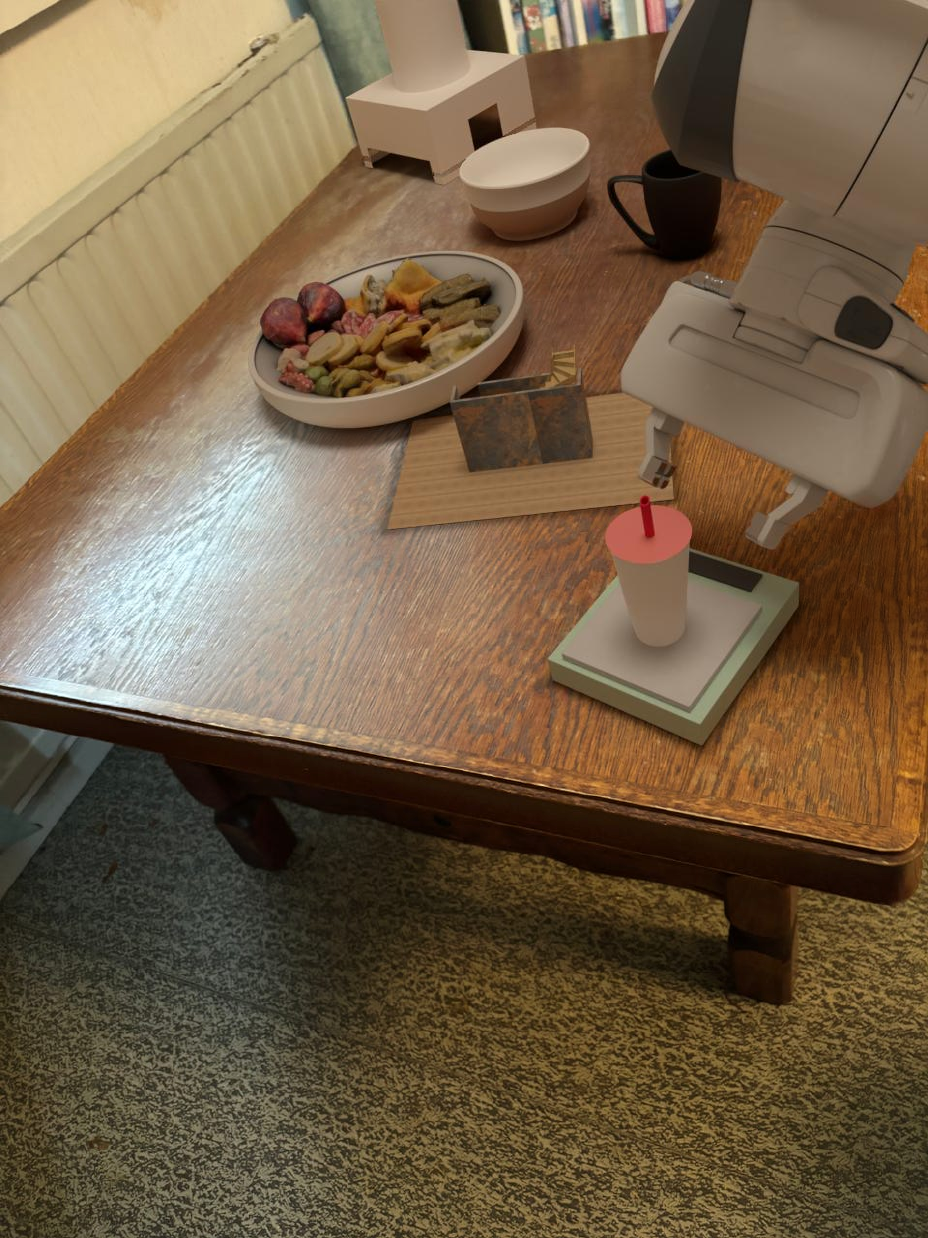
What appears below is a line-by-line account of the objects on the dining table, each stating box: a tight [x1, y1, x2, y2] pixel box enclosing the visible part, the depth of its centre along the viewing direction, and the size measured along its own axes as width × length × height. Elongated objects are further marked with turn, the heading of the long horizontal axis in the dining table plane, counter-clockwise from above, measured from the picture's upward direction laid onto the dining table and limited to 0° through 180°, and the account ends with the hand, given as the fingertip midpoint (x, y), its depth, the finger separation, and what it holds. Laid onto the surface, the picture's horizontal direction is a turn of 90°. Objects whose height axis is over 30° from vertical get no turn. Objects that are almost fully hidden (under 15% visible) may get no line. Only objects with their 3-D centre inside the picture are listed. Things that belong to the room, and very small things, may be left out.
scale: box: [547, 547, 800, 746], centre depth 68 cm, size 12×14×3 cm
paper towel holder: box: [345, 0, 538, 186], centre depth 135 cm, size 19×19×30 cm
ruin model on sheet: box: [387, 344, 675, 530], centre depth 85 cm, size 25×16×10 cm, turn 84°
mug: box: [606, 148, 723, 261], centre depth 105 cm, size 8×12×10 cm
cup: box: [604, 495, 693, 647], centre depth 62 cm, size 5×5×12 cm
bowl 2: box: [458, 127, 591, 242], centre depth 119 cm, size 16×16×8 cm
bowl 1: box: [247, 250, 526, 429], centre depth 102 cm, size 30×30×8 cm
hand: (701, 512), depth 62 cm, fingers open, 8 cm apart
